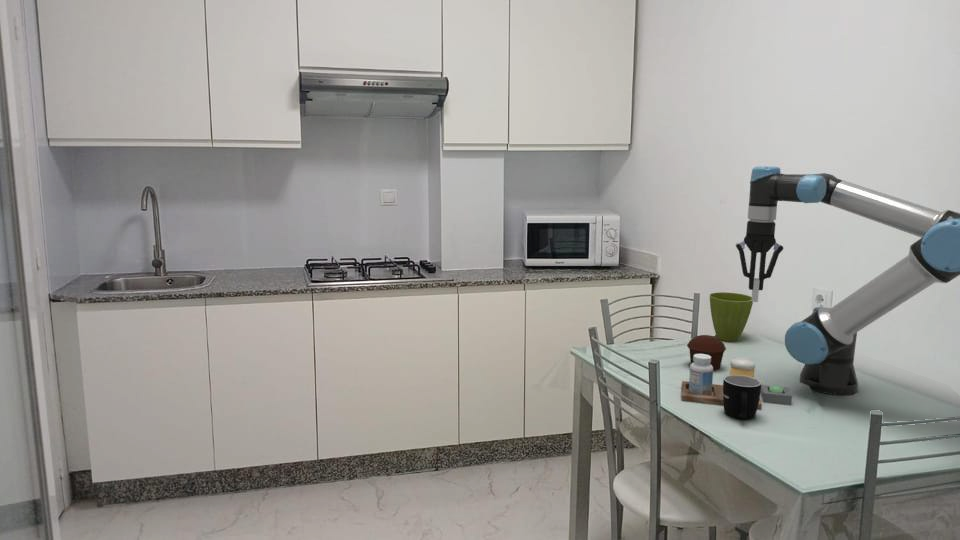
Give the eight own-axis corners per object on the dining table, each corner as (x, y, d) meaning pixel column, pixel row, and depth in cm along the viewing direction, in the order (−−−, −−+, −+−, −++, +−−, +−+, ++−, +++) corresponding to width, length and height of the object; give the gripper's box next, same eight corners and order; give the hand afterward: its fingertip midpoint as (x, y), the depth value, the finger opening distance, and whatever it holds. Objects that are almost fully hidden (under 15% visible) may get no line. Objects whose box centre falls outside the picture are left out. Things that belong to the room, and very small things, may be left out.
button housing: (787, 399, 181) (788, 387, 180) (790, 408, 174) (792, 396, 174) (759, 396, 183) (760, 384, 182) (762, 405, 176) (763, 393, 176)
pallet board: (756, 397, 182) (757, 388, 182) (760, 413, 171) (761, 404, 170) (681, 389, 188) (682, 380, 188) (681, 404, 177) (681, 395, 176)
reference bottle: (751, 396, 180) (754, 358, 178) (753, 404, 174) (756, 365, 172) (727, 394, 182) (730, 356, 180) (728, 402, 176) (731, 363, 174)
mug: (719, 409, 173) (722, 373, 172) (755, 413, 171) (758, 376, 169) (723, 427, 162) (726, 388, 160) (762, 431, 160) (765, 392, 158)
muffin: (722, 363, 212) (725, 333, 210) (726, 374, 201) (728, 342, 200) (684, 360, 215) (686, 330, 213) (686, 370, 204) (688, 339, 202)
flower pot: (744, 334, 246) (747, 293, 243) (755, 346, 231) (758, 301, 228) (702, 332, 248) (705, 291, 245) (711, 344, 233) (714, 300, 230)
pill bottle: (709, 392, 183) (712, 353, 181) (712, 400, 177) (715, 360, 175) (687, 390, 184) (689, 352, 182) (689, 398, 178) (692, 358, 176)
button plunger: (781, 397, 179) (782, 385, 179) (782, 402, 176) (784, 389, 176) (767, 396, 180) (768, 384, 180) (769, 400, 177) (770, 388, 177)
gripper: (784, 220, 189) (777, 299, 193) (736, 218, 193) (730, 296, 197) (788, 222, 182) (780, 305, 186) (738, 221, 186) (731, 301, 190)
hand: (754, 300), depth 192 cm, fingers closed
